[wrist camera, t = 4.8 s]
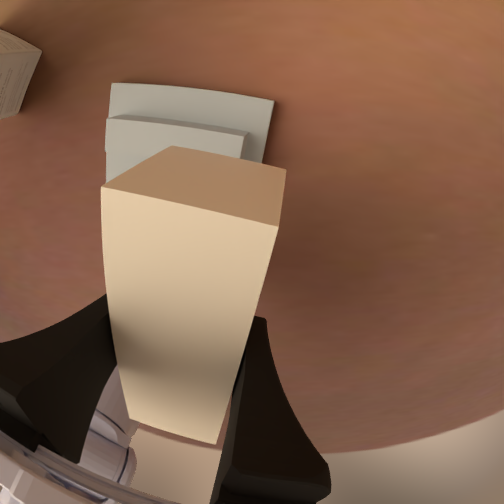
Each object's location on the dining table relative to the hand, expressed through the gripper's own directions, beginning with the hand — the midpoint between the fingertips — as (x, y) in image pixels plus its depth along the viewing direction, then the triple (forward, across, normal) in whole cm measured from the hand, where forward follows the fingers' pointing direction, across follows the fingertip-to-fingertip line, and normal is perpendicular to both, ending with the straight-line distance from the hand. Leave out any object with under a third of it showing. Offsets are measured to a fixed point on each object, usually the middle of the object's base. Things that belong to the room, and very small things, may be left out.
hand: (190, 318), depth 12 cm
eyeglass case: (+2, 0, 0) cm, 2 cm away
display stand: (+9, +4, -1) cm, 10 cm away
